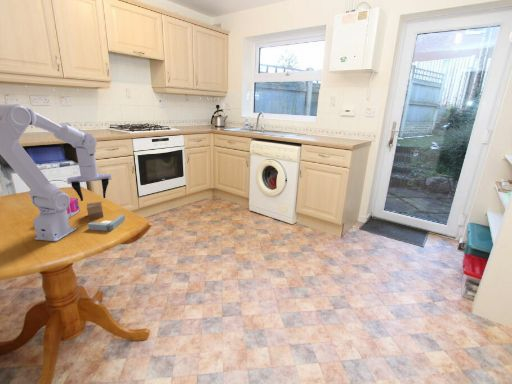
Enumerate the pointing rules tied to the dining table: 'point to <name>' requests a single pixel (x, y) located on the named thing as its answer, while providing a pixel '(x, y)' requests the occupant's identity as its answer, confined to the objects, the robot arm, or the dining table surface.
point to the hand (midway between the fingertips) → (93, 198)
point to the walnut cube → (94, 210)
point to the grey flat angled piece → (106, 224)
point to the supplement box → (72, 207)
